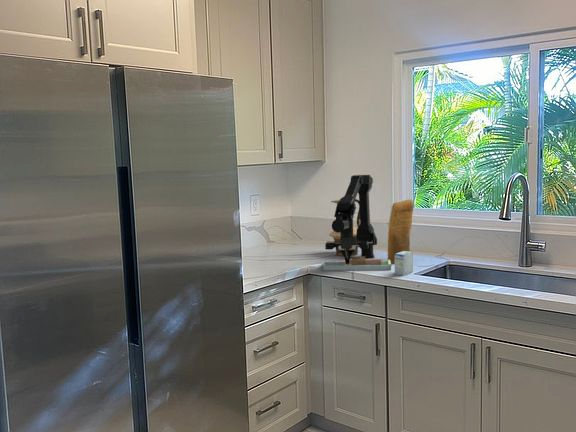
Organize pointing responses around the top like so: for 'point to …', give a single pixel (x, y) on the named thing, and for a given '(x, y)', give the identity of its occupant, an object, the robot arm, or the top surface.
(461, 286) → the top surface
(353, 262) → the block
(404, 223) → the pancake mix bag
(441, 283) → the top surface
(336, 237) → the pitcher
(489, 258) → the top surface
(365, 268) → the trap box
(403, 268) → the medicine box
